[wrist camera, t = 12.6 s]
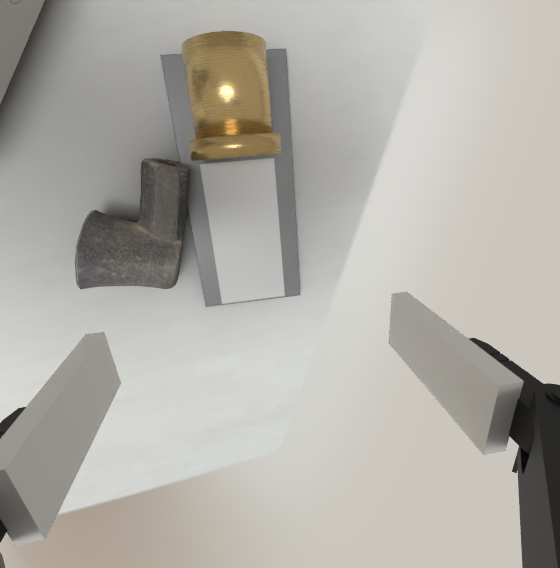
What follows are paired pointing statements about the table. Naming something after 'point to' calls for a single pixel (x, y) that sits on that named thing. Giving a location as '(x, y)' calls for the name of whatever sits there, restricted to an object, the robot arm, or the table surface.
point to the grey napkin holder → (15, 35)
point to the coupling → (229, 96)
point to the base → (240, 201)
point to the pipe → (138, 234)
